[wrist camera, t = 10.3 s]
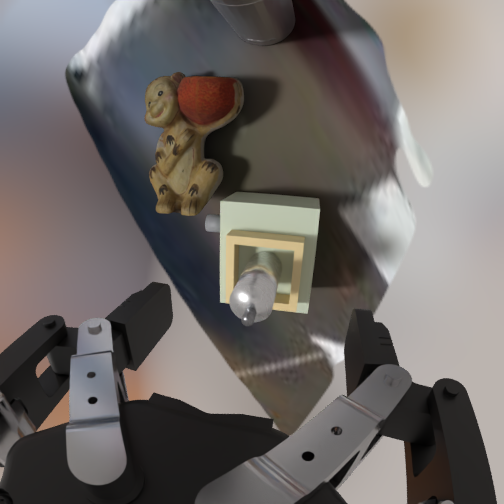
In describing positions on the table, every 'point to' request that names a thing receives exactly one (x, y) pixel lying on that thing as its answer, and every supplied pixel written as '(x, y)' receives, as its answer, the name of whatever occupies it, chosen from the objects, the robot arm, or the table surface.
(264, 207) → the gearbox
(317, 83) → the table surface
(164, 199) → the figurine
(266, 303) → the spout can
